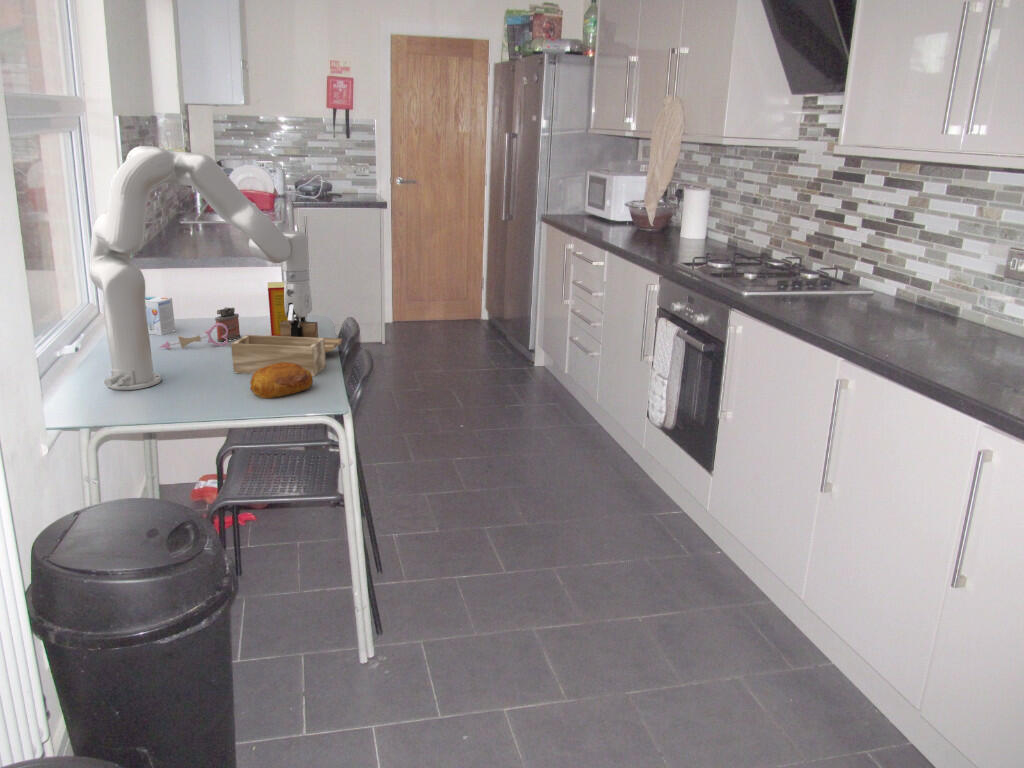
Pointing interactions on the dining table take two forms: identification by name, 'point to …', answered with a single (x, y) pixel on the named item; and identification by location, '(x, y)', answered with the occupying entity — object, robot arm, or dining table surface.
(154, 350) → the dining table surface
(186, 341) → the decorative key
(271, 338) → the open wooden crate
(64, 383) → the dining table surface
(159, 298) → the light bulb box
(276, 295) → the baking soda box
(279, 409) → the dining table surface
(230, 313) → the lighter
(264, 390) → the croissant
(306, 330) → the wooden block with riser
